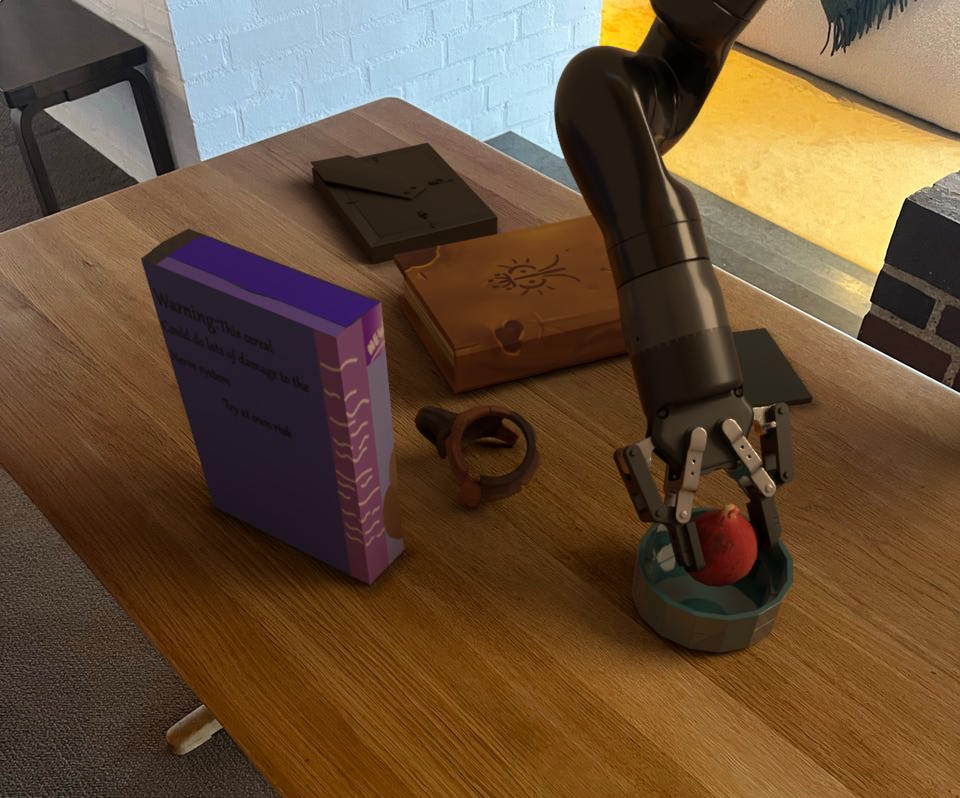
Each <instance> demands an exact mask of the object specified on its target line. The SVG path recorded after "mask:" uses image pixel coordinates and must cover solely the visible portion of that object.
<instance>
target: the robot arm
mask: <svg viewBox="0 0 960 798" xmlns="http://www.w3.org/2000/svg"><path fill="white" fill-rule="evenodd" d="M648 1H649V5H650V7H651V9H652V11H653V12H654V15H655V17H654V19H653V21H652V23H651V25H650V27H649V29H648V31H647V34H646V35H645V37H644V39H643V41H642V43H641V44H640V46H639V47H638V49H637V50H636V51H634V50H628V49H625V48H621V47H618V46H613V45H595V46H591V47H588V48H585V49H583V50H581V51H579V52H578V53H577V54H575V55H574V56H573V57H572V58H571V59H570V60H569V61H568V62H567V64H566V65H565V67H564V69H563V70H562V71H561V75H560V76H559V79H558V82H557V85H556V89H555V93H554V101H553V116H554V117H553V119H554V127H555V132H556V136H557V140H558V144H559V146H560V150H561V153H562V157H563V159H564V160H565V163H566V165H567V167H568V169H569V172H570V174H571V176H572V178H573V180H574V182H575V184H576V186H577V189H578V191H579V192H580V194H581V197H582V198H583V201H584V203H585V204H586V207H587V209H588V210H589V213H590V215H592V216H593V217H594V219H595V221H596V222H597V224H598V226H599V228H600V230H601V232H602V235H603V239H604V244H605V248H606V253H607V257H608V261H609V264H610V268H611V272H612V276H613V280H614V284H615V288H616V291H617V292H616V293H617V298H618V305H619V314H620V322H621V326H622V331H623V334H624V344H625V347H626V349H627V351H628V353H627V354H628V358H629V362H630V366H631V370H632V373H633V377H634V383H635V385H636V390H637V393H638V398H639V401H640V405H641V409H642V412H643V414H644V416H645V419H646V431H645V436H644V437H645V438H643V439H641V440H639V441H637V442H635V443H632V444H628V445H624V446H621V447H619V448H616V449H615V450H614V452H613V454H612V457H613V461H614V463H615V465H616V468H617V470H618V472H619V475H620V477H621V480H622V481H623V484H624V486H625V488H626V491H627V493H628V496H629V498H630V500H631V502H632V505H633V507H634V509H635V512H636V514H637V517H638V519H639V521H641V522H642V523H645V524H648V523H649V524H650V523H651V524H652V523H660V524H663V525H664V526H666V528H667V530H668V533H669V537H670V541H671V545H672V548H673V553H674V557H675V561H676V562H677V564H678V565H679V567H684V569H685V571H686V572H698V571H702V570H704V569H705V562H704V558H703V554H702V550H701V546H700V542H699V538H698V534H697V530H696V526H695V522H690V521H689V520H690V518H691V512H692V508H693V504H694V497H695V494H696V492H697V491H698V488H699V484H700V478H701V477H703V476H707V475H709V474H710V473H712V472H716V471H720V470H723V471H724V473H725V474H726V475H727V476H728V477H729V478H730V479H732V480H734V481H735V482H736V484H737V485H738V487H739V488H740V489H741V490H742V492H743V493H744V494H745V496H746V497H747V498H748V499H749V501H748V502H746V503H745V506H746V510H747V514H748V515H747V516H748V517H749V519H750V523H751V525H752V526H753V528H754V529H755V531H756V533H757V537H758V549H771V548H774V547H777V546H778V545H779V540H778V538H781V537H782V531H783V530H782V524H781V522H780V517H779V513H778V508H777V504H776V500H775V495H776V492H777V491H778V490H779V489H780V488H781V487H783V486H784V485H786V484H787V483H791V482H792V481H793V480H794V479H795V464H794V451H793V441H792V440H793V439H792V428H791V427H792V426H791V417H790V408H789V405H787V404H785V403H782V402H781V403H777V404H773V405H769V406H767V407H756V408H753V407H752V406H751V404H750V403H749V402H748V401H747V400H746V398H745V396H744V394H743V377H742V372H741V368H740V364H739V360H738V356H737V352H736V347H735V343H734V339H733V335H732V332H733V330H732V326H731V322H730V318H729V314H728V310H727V306H726V301H725V297H724V293H723V290H722V287H721V284H720V282H719V278H718V276H717V274H716V271H715V269H714V266H713V262H712V260H711V253H710V249H709V246H708V241H707V237H706V234H705V233H706V232H705V229H704V225H703V222H702V217H701V213H700V209H699V206H698V203H697V201H696V198H695V196H694V194H693V192H692V191H691V190H690V189H689V187H688V186H686V185H685V184H684V183H682V182H681V181H680V180H678V179H677V178H675V177H674V176H673V175H672V174H671V173H670V172H669V171H668V169H667V166H666V164H665V162H664V159H663V156H665V155H666V154H667V153H669V151H671V150H672V149H673V148H674V147H675V146H677V144H678V143H679V142H681V140H682V139H683V138H684V136H686V134H687V132H688V131H690V129H691V127H692V126H693V125H694V123H695V121H696V119H697V117H698V116H699V114H700V112H701V110H702V108H703V107H704V105H705V103H706V101H707V99H708V97H709V95H710V93H711V92H712V90H713V87H714V86H715V83H716V82H717V80H718V78H719V76H720V74H721V72H722V70H723V68H724V66H725V63H726V62H727V59H728V57H729V54H730V53H731V50H732V48H733V46H734V44H735V42H736V41H737V39H738V38H739V37H740V36H741V35H742V33H744V31H745V30H746V29H747V28H748V26H749V25H750V24H751V23H752V21H753V20H754V19H755V18H756V16H757V15H758V14H759V12H760V11H761V10H762V8H763V7H764V6H765V4H766V3H767V2H768V0H648ZM752 426H753V427H754V428H753V429H754V432H755V433H756V434H757V435H758V436H759V443H760V456H761V457H760V456H759V454H758V453H757V452H756V450H755V449H754V448H753V446H752V445H751V443H750V442H749V441H748V438H749V435H750V433H751V430H752ZM652 453H653V454H654V455H655V456H657V457H658V458H659V460H661V461H662V462H663V463H664V464H665V470H664V476H663V484H662V492H663V493H664V496H663V497H664V498H662V496H661V493H660V491H659V488H658V486H657V484H656V482H655V479H654V477H653V473H652V471H651V469H650V468H651V467H652V464H653V460H652Z"/></svg>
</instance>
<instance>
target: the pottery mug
mask: <svg viewBox="0 0 960 798" xmlns="http://www.w3.org/2000/svg"><path fill="white" fill-rule="evenodd" d="M504 419H506V420H508V421H511V422H512V423H513V424H515V425H516V426H517V427H518V428H519V430H520V431H521V433H522V434H523V436H524V438H525V443H526V451H525V456H524V458H523V460H522V462H521V463H520V464H519V465H518V466H517V467H516V468H515V469H514V470H512V471H510V472H508V473H506V474H503V475H496V476H495V475H493V476H492V475H484V474H479V477H478V479H479V480H478V479H477V478H475V477H473V476H472V475H471V474H470V473H469V471H470V466H469V464H468V463H467V461H466V460H465V458H464V456H463V453H462V449H463V448H464V447H466V446H467V445H468V444H470V443H471V442H474V441H477V440H481V439H486V438H491V439H496V440H499V441H502V442H504V443H506V444H507V445H509V446H511V447H513V448H514V447H516V445H517V443H518V441H519V439H520V438H521V434H520V432H519V431H518V430H516V429H514V428H513V427H511V426H510V425H509V424H507V423H506V422H504V421H503V420H504ZM413 420H414V421H413V422H414V424H415V428H416V430H417V431H418V432H419V433H420V435H422V437H424V439H426V441H428V442H429V443H430V444H432V446H434V447H435V448H436V451H437V454H438V457H439V459H440V460H442V461H443V460H446V459H447V461H448V464H449V466H450V469H451V472H452V473H453V476H454V477H455V478H456V480H457V481H458V483H459V484H460V485H461V486H460V489H459V491H458V492H457V494H456V495H457V500H458V501H460V502H461V503H463V504H464V505H467V506H468V507H470V508H473V507H475V506H478V505H479V504H481V505H486V504H490V503H494V502H498V501H502V500H504V499H507V498H510V497H512V496H514V495H516V494H518V493H520V492H521V491H523V488H522V486H526V485H529V483H530V482H531V480H532V479H533V477H534V475H535V474H536V471H537V470H538V469H539V467H540V466H541V465H542V464H543V459H542V456H541V453H540V451H539V450H538V449H537V445H536V444H537V442H538V436H537V435H538V432H537V431H536V428H535V427H534V426H533V425H532V424H531V423H530V422H529V421H528V420H527V419H526V418H525V417H524V416H523V415H521V414H520V413H519V412H517V411H516V410H512V409H510V408H509V407H505V406H503V405H497V404H481V405H476V406H473V407H470V408H468V409H466V410H463V411H460V412H454V411H450V410H448V409H446V408H443V407H440V406H433V405H425V406H423V407H421V408H420V409H418V412H417V413H416V415H415V417H414V419H413Z"/></svg>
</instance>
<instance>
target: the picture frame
mask: <svg viewBox="0 0 960 798" xmlns="http://www.w3.org/2000/svg"><path fill="white" fill-rule="evenodd" d="M310 164H311V166H312V167H311V174H312V175H311V176H312V180H313V185H314V187H315V188H316V189H317V190H318V192H319V194H321V196H322V198H323V199H324V200H325V201H326V203H327V204H328V205H329V207H330V208H331V210H332V211H333V212H334V213H335V215H336V216H337V218H338V219H339V221H340V222H341V224H342V225H343V226H344V227H345V228H346V230H347V231H348V233H349V234H350V235H351V237H352V238H353V239H354V240H355V242H356V244H357V245H358V247H360V249H361V250H362V251H363V253H364V254H365V255H366V257H367V258H368V260H369V261H370V263H371V264H372V265H374V264H379V263H384V262H387V261H391V260H394V255H396V254H401V253H406V252H411V251H416V250H421V249H426V248H431V247H436V246H441V245H446V244H451V243H456V242H461V241H466V240H471V239H476V238H481V237H485V236H490V235H495V234H498V215H497V214H496V213H495V212H494V211H493V210H492V209H491V208H490V207H489V206H488V205H487V203H485V201H484V200H482V198H481V197H480V196H479V195H478V194H477V193H476V192H475V191H474V190H473V189H472V188H471V186H469V185H468V184H467V182H466V181H465V180H464V179H463V178H462V177H461V176H460V175H459V173H457V172H456V171H455V169H453V167H452V166H450V164H449V163H448V162H447V161H446V160H445V159H444V158H443V157H442V156H441V155H440V153H439V152H438V151H437V150H436V149H434V147H433V146H432V145H431V144H430V143H429V142H423V143H419V144H415V145H410V146H406V147H405V146H404V147H400V148H397V149H396V148H395V149H391V150H387V151H383V152H378V153H374V154H373V153H372V154H368V155H364V156H359V157H354V156H353V155H350V154H346V155H340V156H335V157H329V158H324V159H318V160H314V161H313V160H312V161H310Z"/></svg>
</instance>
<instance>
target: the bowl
mask: <svg viewBox="0 0 960 798" xmlns="http://www.w3.org/2000/svg"><path fill="white" fill-rule="evenodd" d="M714 509H720V508H718V507H710V506H697V507H692V512H691V518H690V520H689V521H690V522H692V521H693V520H694V519H695V518H696V517H697V516H699V515H701V514H703V513H705V512H707V511H709V510H714ZM738 513H739V514H741V515H742V516H744V517H745V518H747V520H748V521H749V522H750V519H749V515H745V514H743V513H740V512H738ZM778 540H779V545H778V546H777V547H774V548H771V549H758V552H757V558H756V560H755V562H754V564H753V566H752V568H751V569H750V571H749V572H748V574H747V575H746V576H744V577H743V578H741V579H740V580H738V581H737V582H735V583H733V584H730V585H726V586H723V587H714V586H706V585H704V584H702V583H700V582H698V581H695V580H694V579H693V578H692V577H691V576H690V574H689V573H688V572H686V571H685V569H684V567H679V565H678V564H677V562H676V561H675V557H674V553H673V548H672V545H671V541H670V537H669V533H668V530H667V528H666V526H664V525H663V524H660V523H651V525H650V526H649V527H648V528H647V530H646V531H645V532H644V533H643V535H642V537H641V538H640V539H639V541H638V545H637V552H636V558H635V563H634V570H633V575H632V576H633V578H632V585H631V592H630V593H631V597H632V599H633V602H634V604H635V607H636V609H637V612H638V614H639V616H640V618H641V619H642V620H643V621H644V622H645V623H647V625H649V627H650V628H652V629H653V630H654V631H655V633H657V635H659V636H661V637H663V638H664V639H667V640H669V641H671V642H674V643H676V644H678V645H680V646H683V647H685V648H686V649H690V650H697V651H705V652H712V653H724V652H730V651H736V650H741V649H747V648H750V647H751V646H753V645H755V644H756V643H758V642H760V641H761V640H763V639H765V638H766V637H768V636H770V635H771V634H772V632H773V631H774V630H775V629H774V628H775V627H776V625H777V623H778V622H779V621H780V619H781V618H782V616H783V613H784V610H785V608H786V604H787V601H788V599H789V596H790V593H791V590H792V588H793V585H794V580H795V577H794V559H793V557H792V555H791V553H790V551H789V550H788V548H787V546H786V545H785V542H784V541H783V539H782V538H781V537H780V538H778Z"/></svg>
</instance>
